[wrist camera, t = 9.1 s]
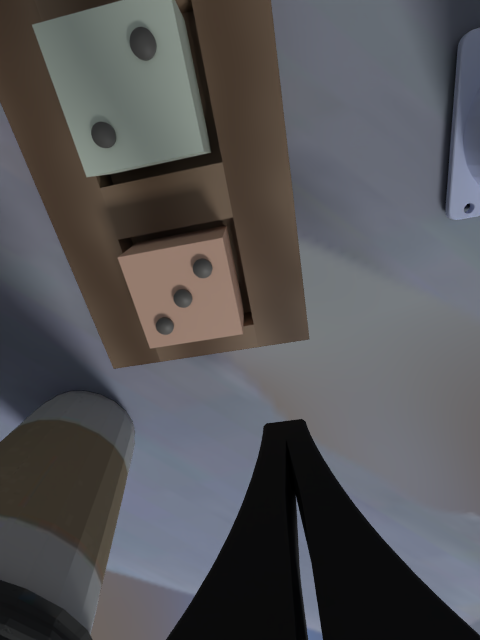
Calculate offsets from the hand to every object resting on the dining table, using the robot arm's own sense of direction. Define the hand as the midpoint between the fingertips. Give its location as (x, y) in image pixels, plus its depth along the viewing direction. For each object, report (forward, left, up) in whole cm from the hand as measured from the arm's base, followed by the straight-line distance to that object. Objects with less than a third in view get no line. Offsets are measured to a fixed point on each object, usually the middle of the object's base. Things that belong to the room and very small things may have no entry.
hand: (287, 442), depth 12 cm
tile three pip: (+4, -3, -9) cm, 11 cm away
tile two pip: (+4, -12, -9) cm, 16 cm away
